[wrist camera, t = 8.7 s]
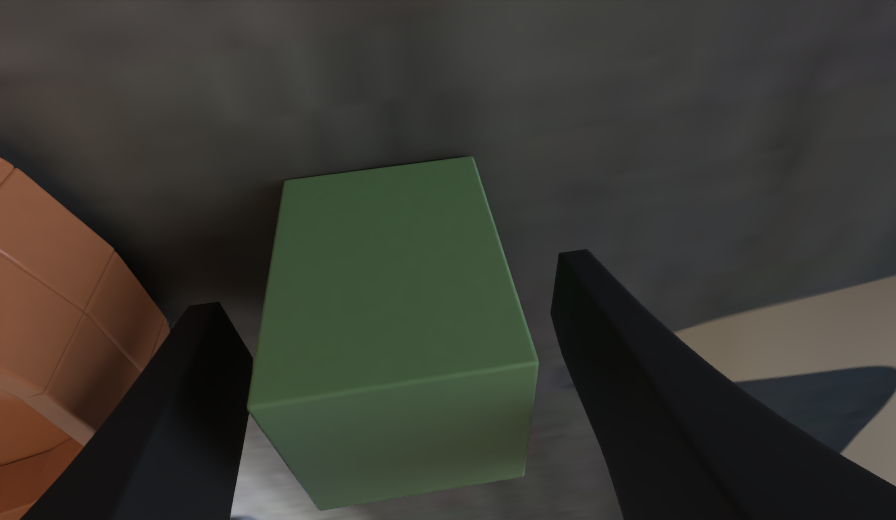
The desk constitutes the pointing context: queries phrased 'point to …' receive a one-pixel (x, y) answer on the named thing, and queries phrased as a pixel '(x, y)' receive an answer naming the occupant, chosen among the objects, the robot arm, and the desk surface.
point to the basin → (60, 337)
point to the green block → (392, 337)
